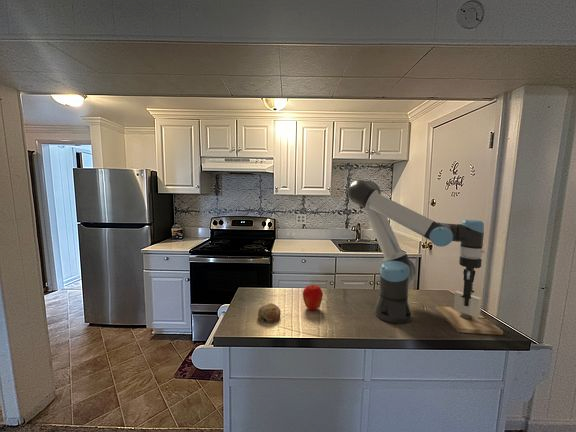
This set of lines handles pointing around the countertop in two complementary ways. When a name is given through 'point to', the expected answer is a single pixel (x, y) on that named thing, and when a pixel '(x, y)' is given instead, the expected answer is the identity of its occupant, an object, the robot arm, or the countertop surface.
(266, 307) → the bread roll
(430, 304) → the countertop surface
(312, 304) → the apple
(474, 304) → the cream piece
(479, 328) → the light wood flat board
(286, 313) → the countertop surface
